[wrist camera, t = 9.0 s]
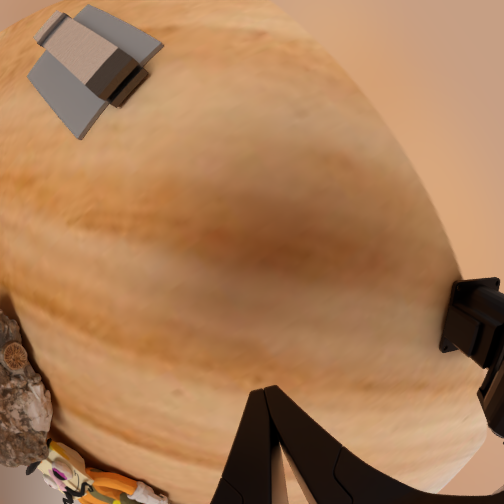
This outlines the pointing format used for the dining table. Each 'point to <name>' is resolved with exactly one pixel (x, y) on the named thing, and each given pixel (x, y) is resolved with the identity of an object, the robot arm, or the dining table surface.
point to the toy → (90, 480)
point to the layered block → (91, 58)
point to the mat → (70, 87)
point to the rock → (21, 402)
